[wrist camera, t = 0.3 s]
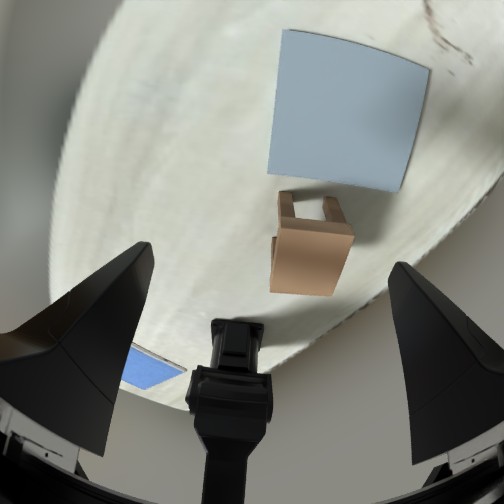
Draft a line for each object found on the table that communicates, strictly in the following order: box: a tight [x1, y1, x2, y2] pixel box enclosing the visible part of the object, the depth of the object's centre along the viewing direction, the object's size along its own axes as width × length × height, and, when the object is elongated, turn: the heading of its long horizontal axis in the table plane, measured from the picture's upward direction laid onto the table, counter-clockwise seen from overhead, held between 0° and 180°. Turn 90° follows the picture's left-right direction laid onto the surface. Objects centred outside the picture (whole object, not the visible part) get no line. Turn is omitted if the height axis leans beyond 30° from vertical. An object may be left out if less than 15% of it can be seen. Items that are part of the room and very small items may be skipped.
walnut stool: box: [270, 191, 355, 296], centre depth 21 cm, size 6×5×6 cm
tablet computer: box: [121, 342, 186, 390], centre depth 45 cm, size 19×13×1 cm, turn 137°
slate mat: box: [268, 30, 429, 193], centre depth 17 cm, size 11×11×1 cm
